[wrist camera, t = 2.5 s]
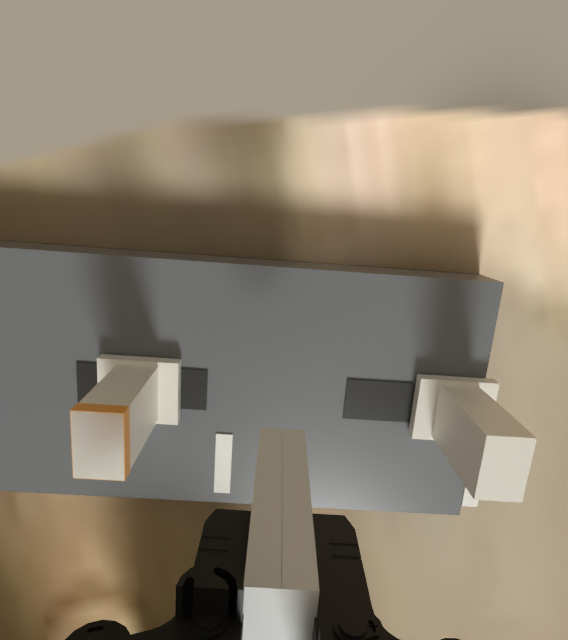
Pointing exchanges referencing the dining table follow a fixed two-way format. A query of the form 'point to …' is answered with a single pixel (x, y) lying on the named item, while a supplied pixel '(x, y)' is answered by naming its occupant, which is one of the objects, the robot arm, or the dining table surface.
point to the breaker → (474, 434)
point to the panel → (239, 369)
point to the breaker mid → (122, 413)
